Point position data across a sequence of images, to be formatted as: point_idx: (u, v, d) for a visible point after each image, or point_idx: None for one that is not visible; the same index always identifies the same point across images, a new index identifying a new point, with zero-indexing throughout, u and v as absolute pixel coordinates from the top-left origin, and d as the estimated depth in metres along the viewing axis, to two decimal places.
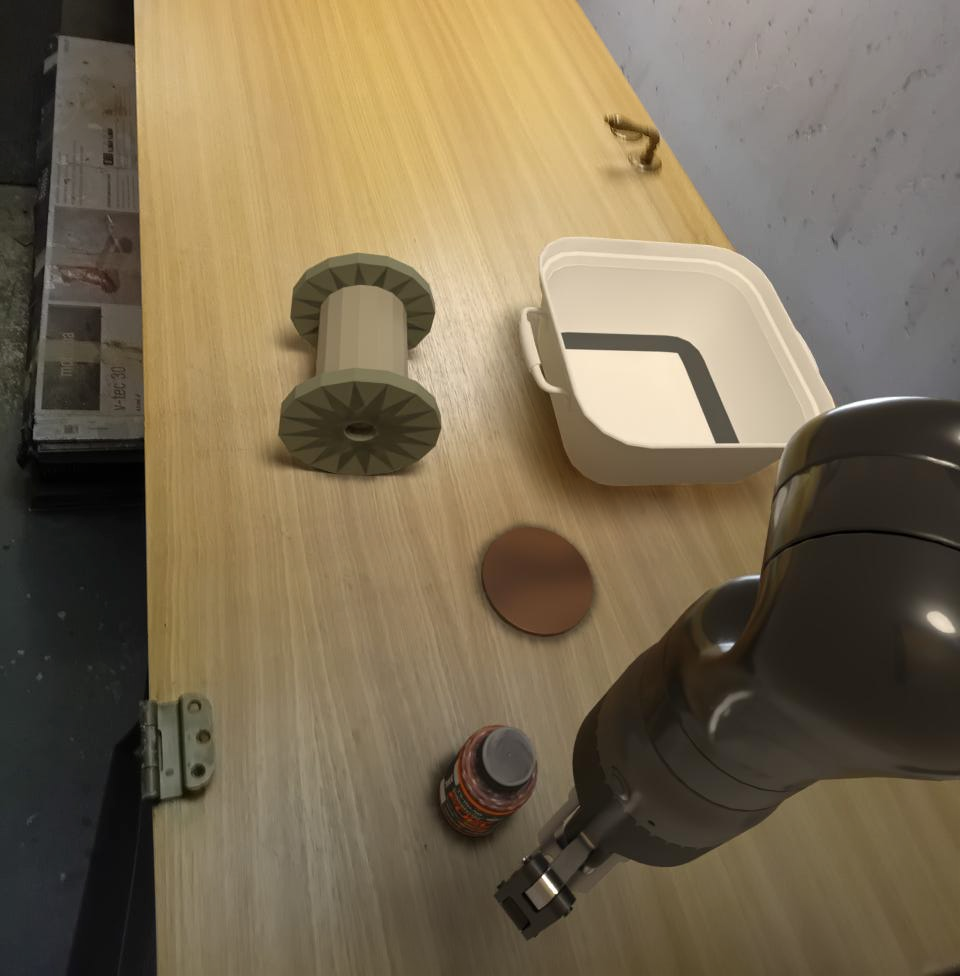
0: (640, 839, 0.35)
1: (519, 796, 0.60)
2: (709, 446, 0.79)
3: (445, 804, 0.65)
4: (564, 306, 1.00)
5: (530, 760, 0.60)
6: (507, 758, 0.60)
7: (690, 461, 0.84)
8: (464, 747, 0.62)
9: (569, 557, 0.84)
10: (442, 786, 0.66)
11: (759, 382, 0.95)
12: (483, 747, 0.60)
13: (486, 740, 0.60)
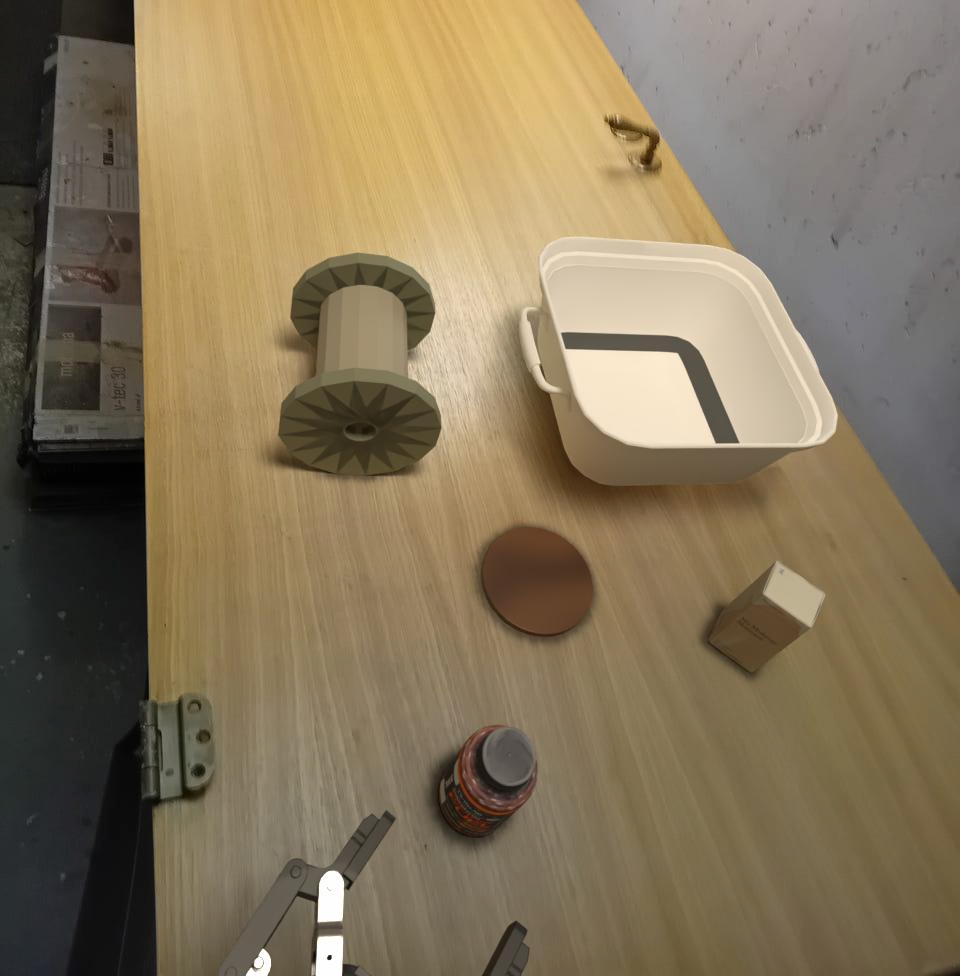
0: None
1: (519, 796, 0.60)
2: (709, 446, 0.79)
3: (445, 804, 0.65)
4: (564, 306, 1.00)
5: (530, 760, 0.60)
6: (507, 758, 0.60)
7: (690, 461, 0.84)
8: (464, 747, 0.62)
9: (569, 557, 0.84)
10: (442, 786, 0.66)
11: (759, 382, 0.95)
12: (483, 747, 0.60)
13: (486, 740, 0.60)
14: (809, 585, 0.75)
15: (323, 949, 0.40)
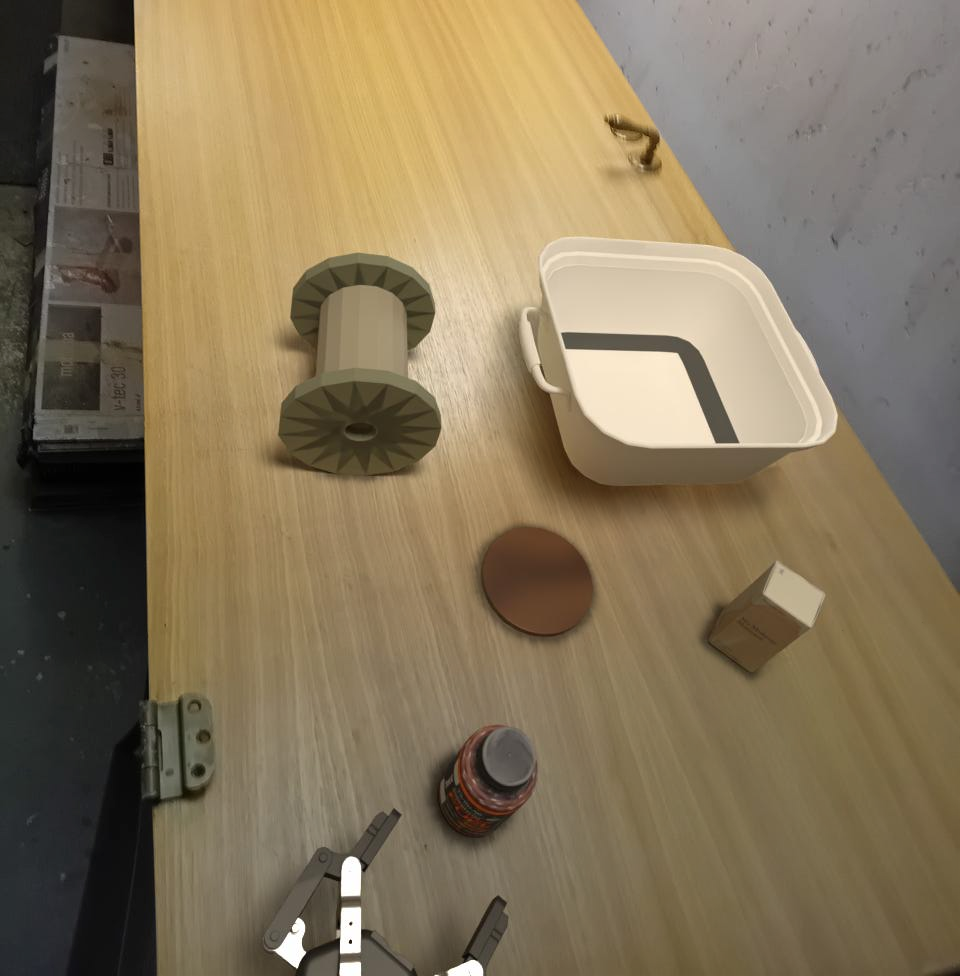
0: None
1: (519, 796, 0.60)
2: (709, 446, 0.79)
3: (445, 804, 0.65)
4: (564, 306, 1.00)
5: (530, 760, 0.60)
6: (507, 758, 0.60)
7: (690, 461, 0.84)
8: (464, 747, 0.62)
9: (569, 557, 0.84)
10: (442, 786, 0.66)
11: (759, 382, 0.95)
12: (483, 747, 0.60)
13: (486, 740, 0.60)
14: (809, 585, 0.75)
15: (346, 917, 0.51)
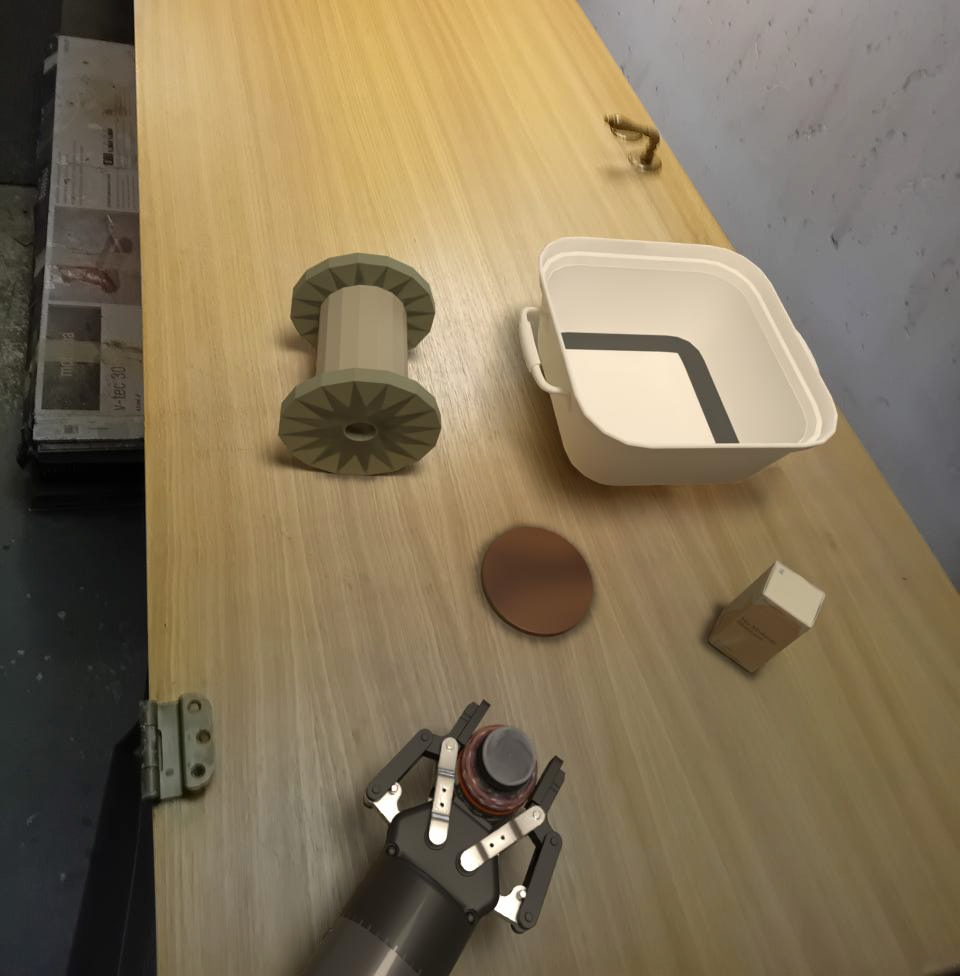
0: None
1: (519, 795, 0.60)
2: (709, 446, 0.79)
3: None
4: (564, 306, 1.00)
5: (530, 760, 0.60)
6: (508, 757, 0.60)
7: (690, 461, 0.84)
8: (464, 747, 0.62)
9: (569, 557, 0.84)
10: None
11: (759, 382, 0.95)
12: (483, 747, 0.60)
13: (486, 740, 0.60)
14: (809, 585, 0.75)
15: (440, 784, 0.58)
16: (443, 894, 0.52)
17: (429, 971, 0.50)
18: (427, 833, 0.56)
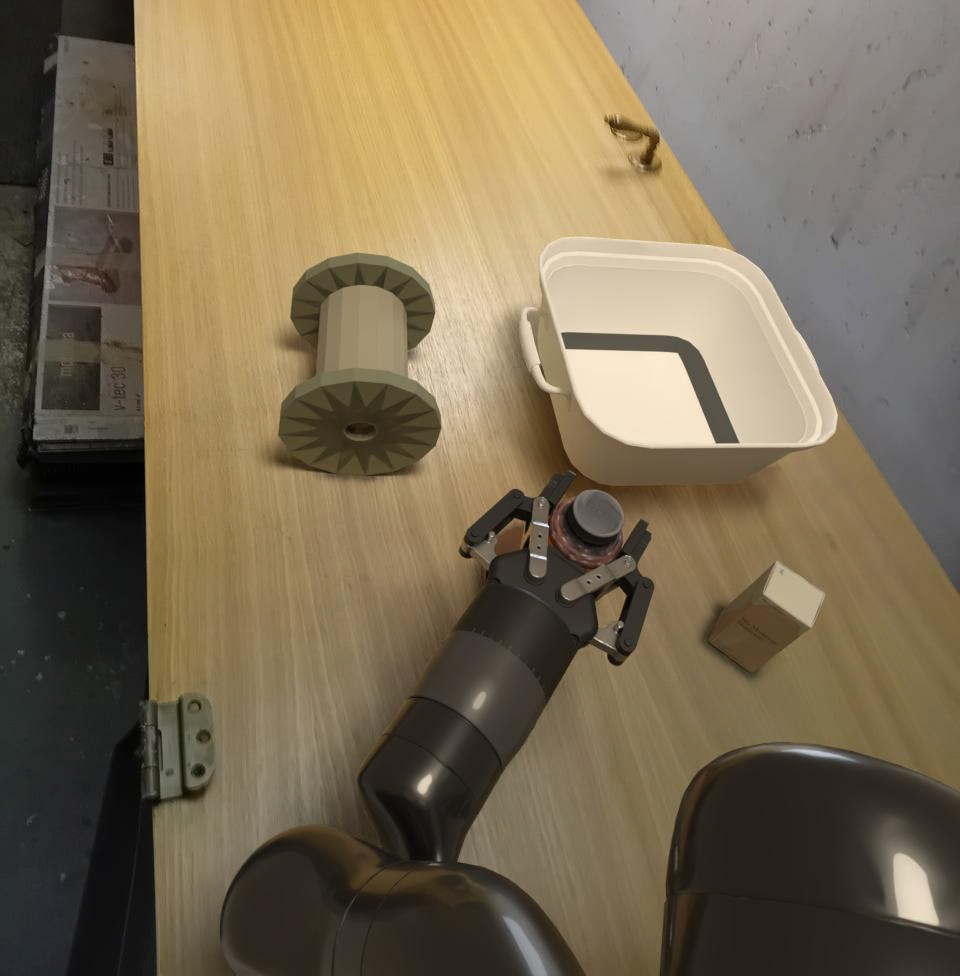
0: (555, 685, 0.53)
1: (608, 553, 0.62)
2: (709, 446, 0.79)
3: None
4: (564, 306, 1.00)
5: (619, 517, 0.62)
6: (597, 514, 0.62)
7: (690, 461, 0.84)
8: (551, 514, 0.64)
9: None
10: None
11: (759, 382, 0.95)
12: (574, 504, 0.62)
13: (576, 499, 0.62)
14: (809, 585, 0.75)
15: (536, 531, 0.59)
16: (550, 609, 0.54)
17: (541, 672, 0.51)
18: (526, 570, 0.58)
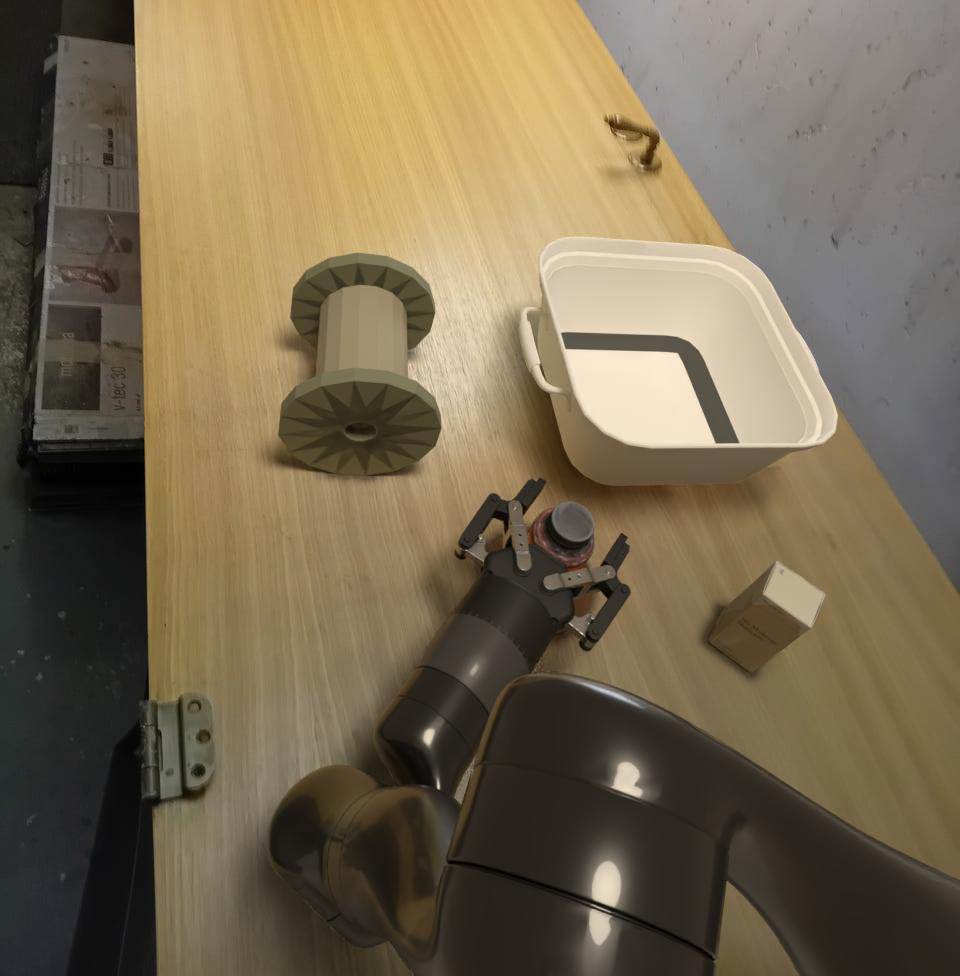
0: (537, 659, 0.64)
1: (581, 555, 0.74)
2: (709, 446, 0.79)
3: None
4: (564, 306, 1.00)
5: (590, 525, 0.73)
6: (572, 522, 0.73)
7: (690, 461, 0.84)
8: (534, 521, 0.76)
9: None
10: None
11: (759, 382, 0.95)
12: (552, 514, 0.73)
13: (554, 509, 0.74)
14: (809, 585, 0.75)
15: (516, 531, 0.71)
16: (533, 596, 0.65)
17: (525, 647, 0.63)
18: (515, 566, 0.69)
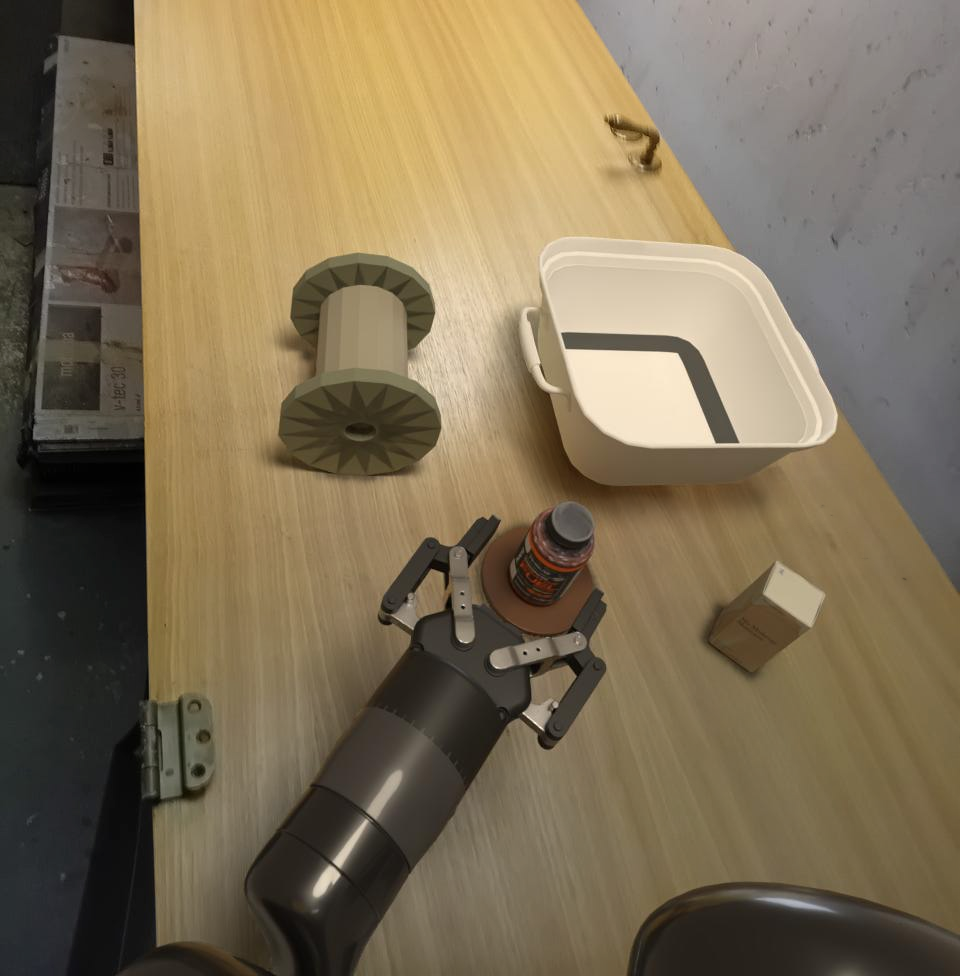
0: (477, 768, 0.48)
1: (581, 555, 0.74)
2: (709, 446, 0.79)
3: (516, 577, 0.79)
4: (564, 306, 1.00)
5: (590, 525, 0.73)
6: (572, 522, 0.73)
7: (690, 461, 0.84)
8: (534, 521, 0.76)
9: None
10: (512, 564, 0.79)
11: (759, 382, 0.95)
12: (552, 514, 0.73)
13: (554, 509, 0.74)
14: (809, 585, 0.75)
15: (457, 588, 0.54)
16: (472, 683, 0.48)
17: (459, 756, 0.46)
18: (453, 636, 0.52)
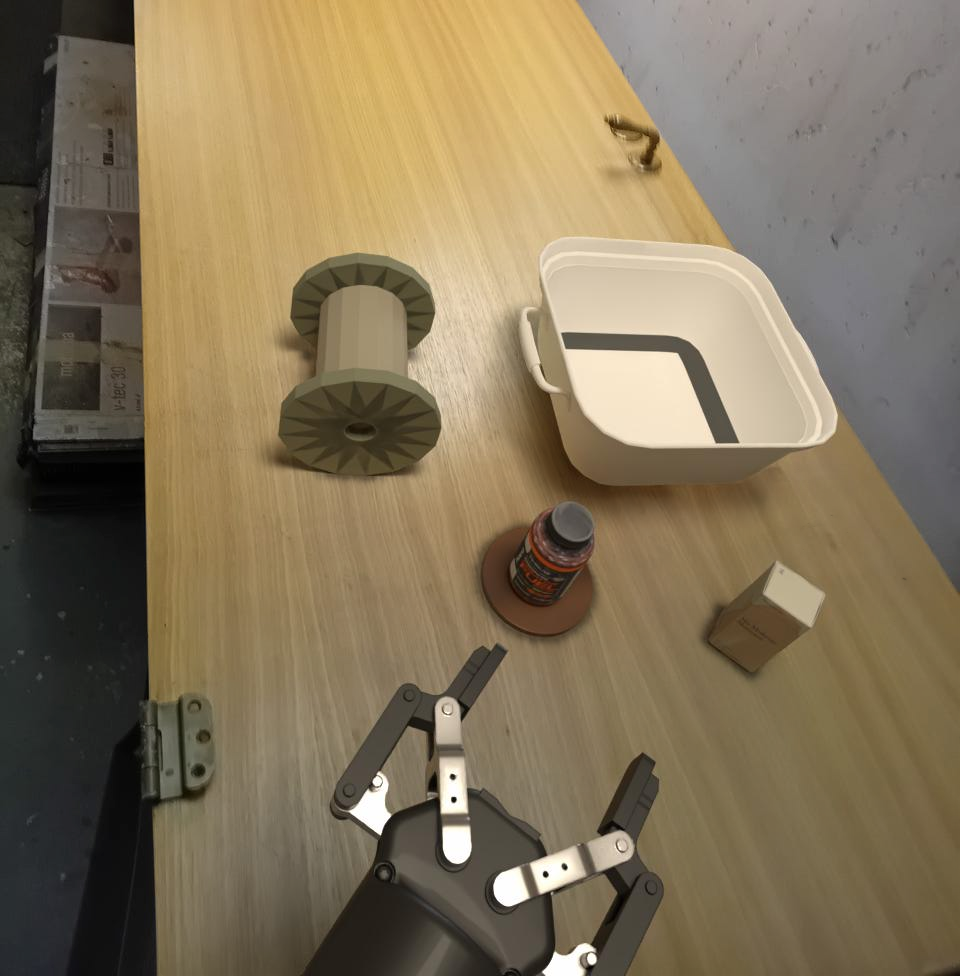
0: None
1: (581, 555, 0.74)
2: (709, 446, 0.79)
3: (516, 577, 0.79)
4: (564, 306, 1.00)
5: (590, 525, 0.73)
6: (572, 522, 0.73)
7: (690, 461, 0.84)
8: (534, 521, 0.76)
9: None
10: (512, 564, 0.79)
11: (759, 382, 0.95)
12: (552, 514, 0.73)
13: (554, 509, 0.74)
14: (809, 585, 0.75)
15: (445, 769, 0.37)
16: (468, 947, 0.31)
17: None
18: (440, 849, 0.35)
